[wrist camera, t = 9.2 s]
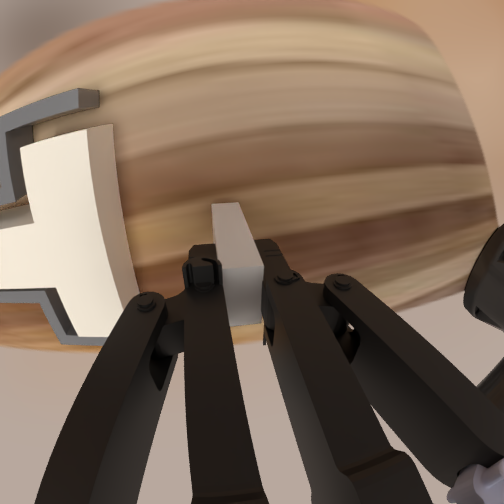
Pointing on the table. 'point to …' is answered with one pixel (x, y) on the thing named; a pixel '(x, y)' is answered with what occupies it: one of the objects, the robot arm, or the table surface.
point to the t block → (71, 230)
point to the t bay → (13, 188)
